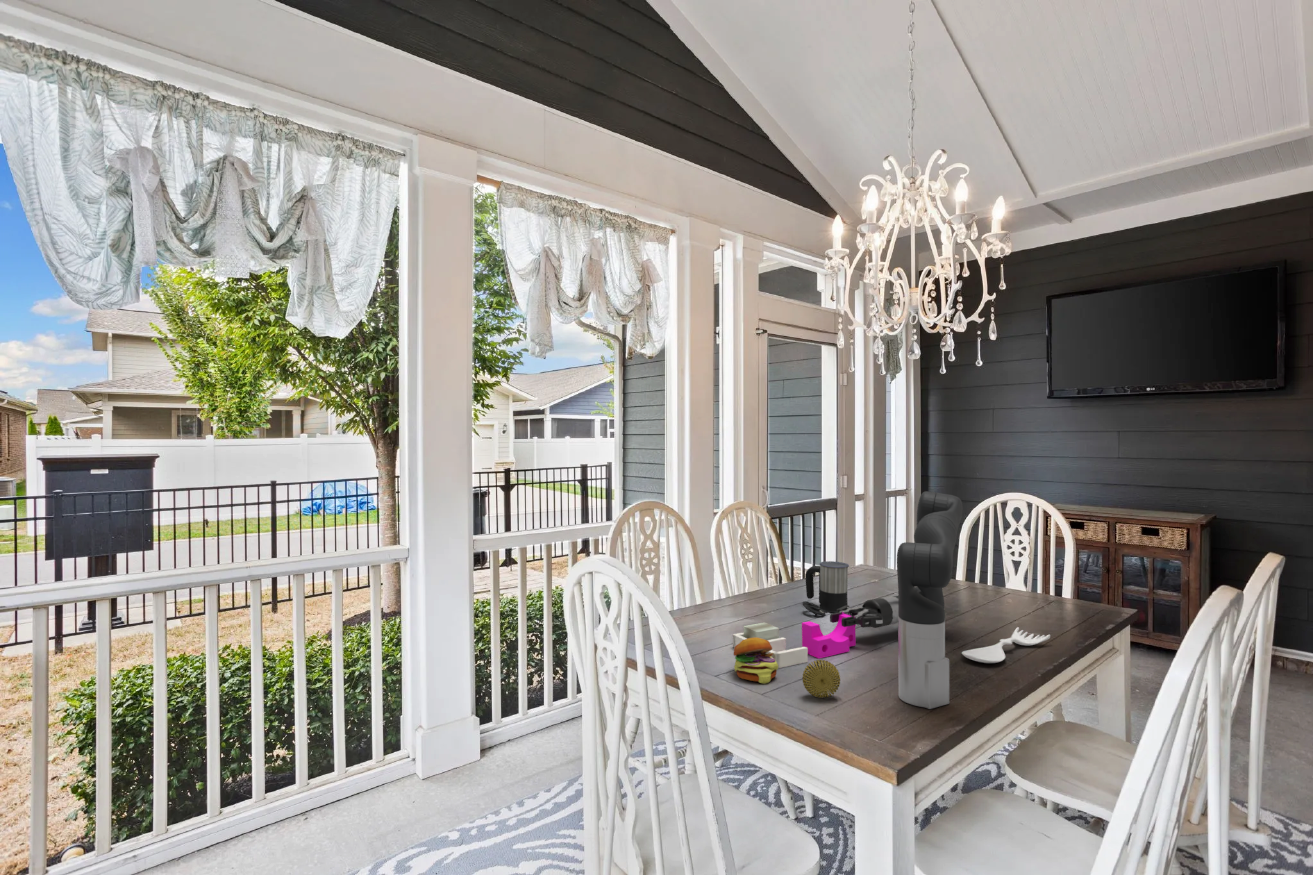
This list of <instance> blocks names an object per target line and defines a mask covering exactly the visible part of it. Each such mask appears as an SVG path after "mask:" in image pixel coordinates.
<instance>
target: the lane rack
mask: <svg viewBox="0 0 1313 875" xmlns="http://www.w3.org/2000/svg"><path fill="white" fill-rule="evenodd" d="M745 639H747V638H745V637H744V632H738V633H733V634H732V648H733V647H734V648H735V646H736V645H738V644H739V643H740V642H741V641H742V640H745ZM767 641H769V642H770V644H771V646H772V650H771V651H769V652H767V653H765V654H768V653H773V655H772V656H771V657H772V658H774V659H775V661H776V662H777V664H778V669H781V668H786V667H790V666H791V667H792V666H795V665H800V664H805V663H808V662H809V658H808V655H809V654H808V648H807V647H802V646H801V647H795V648H791V649H787V638H786V637H779V638H777V639H772V640H767ZM734 648H733V649H734Z"/></svg>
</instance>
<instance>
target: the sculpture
mask: <svg viewBox="0 0 1313 875" xmlns="http://www.w3.org/2000/svg"><path fill="white" fill-rule="evenodd" d="M802 672H803V673H802V684H803V687H804V689H805V690H806V691H807V693H809V694H810V695H811V696H813V697H815V698H818V699H823V698H824V699H825V698H829V697H831V696H832V695H834V694H835V693H836V692H837V690H839V687H840V685H841V676H840V672H839V670H838V669H837V667H836V666H835V665H834V663H832V662H830V661H828V660H826V659H825V660H824V659H816V660H814V661H811V662H810V663H808V665H806V667H805V668H804V670H803V671H802Z"/></svg>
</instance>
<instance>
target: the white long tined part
mask: <svg viewBox="0 0 1313 875" xmlns="http://www.w3.org/2000/svg"><path fill="white" fill-rule="evenodd" d="M1019 630H1020V627H1018V626H1017V627H1016V628H1015V630H1013V632H1012V634H1011V636H1010V637H1008V638H1001V639H999V642H997V643H996V644H993V645H989V646H984V647H978V648H971V649H968V650H963V651H961V654H962V655H963V656H964V657H965V658H967V659H969V660H972V661H974V662H977V663H984V664H996V663H1000V662H1003V661H1004V660H1005V659H1006V654H1005V652H1004V649H1003V646H1005V645H1013V643H1014V644H1017V645H1021V646H1024V647H1025V646H1033V645H1037V644H1041V643H1043V642H1046V641H1048V640H1049V639H1050V638H1051V634H1048V635H1045V634H1042V635H1040V634H1038V635H1036V636H1035V637H1034V633H1031V634H1029V635H1028V631H1025V632H1024V630H1023V629H1022V630H1020V631H1019ZM1027 635H1028V636H1027Z"/></svg>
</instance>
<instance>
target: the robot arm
mask: <svg viewBox="0 0 1313 875" xmlns="http://www.w3.org/2000/svg"><path fill="white" fill-rule="evenodd" d="M916 509H917V511H916V528H915V531H914V534H913V539H914V542H911V541H910V542H902V543H900V545H899V546H898V548H897V553H896V573H897V587H898V588H897V590H898V593H897V595H894V596H884V597H878V598H872V599H868V600H866V601H864V602H863V604H862V606H856V607H850V605H846V606H843V607H841V608H839V609H837V613H831V614H830V615H829V622H830V623H838V621H839V615H842V614H847V615H850V616H851V617H846V618H842V626H843V627H848V626H852V625H854V626H855V627H859V626H860V627H861V628H862V629H863V628H872V629H878V628H882V627H888V626H892V625H894V624H898V626H897V627H898V629H897V630H898V633H897V635H898V640H897V641H898V642H897V643H898V644H897V646H898V648H897V649H898V650H897V651H898V653H897V654H898V656H897V657H898V658H897V660H898V663H897V664H898V668H897V670H898V671H897V672H898V698H899V699H900V700H901V701H903V702H904V703H907V704H909V705H911V706H916V707H921V708H926V709H928V710H932V709H935V708H938V707H942V706H945V705H949V704H950V659H949V658H948V657H946V611H945V597H944V592H943V588H946V587H947V586H948V585H949V583H950V582H951V580H952V577H953V568H954V567H953V566H954V564H953V563H954V561H953V560H954V550H955V547H956V544H957V538H958V529H959V526H960V524H961V521H962V519H963V514H964V506H963V502H962V500H961V498H960V497H958V496H956V495H953V494H947V493H942V492H941V493H940V492H934V491H926V490H925V491H923V492H922V493H921V495H920V497H919V498H918V503H917V508H916Z"/></svg>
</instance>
